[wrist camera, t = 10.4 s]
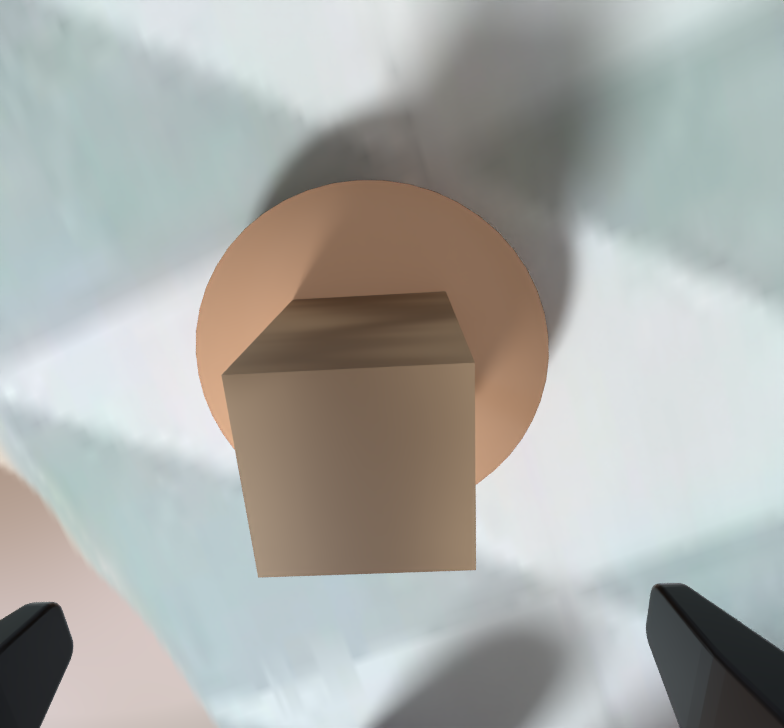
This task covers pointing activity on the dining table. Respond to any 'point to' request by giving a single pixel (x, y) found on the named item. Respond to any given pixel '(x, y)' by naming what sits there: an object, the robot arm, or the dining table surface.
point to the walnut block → (357, 437)
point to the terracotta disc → (385, 291)
